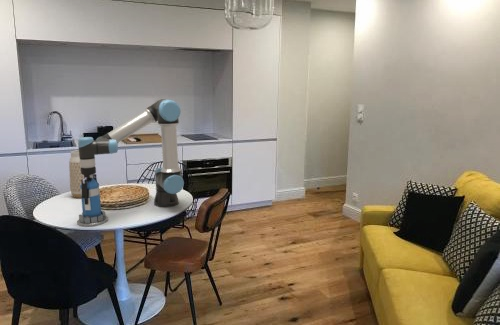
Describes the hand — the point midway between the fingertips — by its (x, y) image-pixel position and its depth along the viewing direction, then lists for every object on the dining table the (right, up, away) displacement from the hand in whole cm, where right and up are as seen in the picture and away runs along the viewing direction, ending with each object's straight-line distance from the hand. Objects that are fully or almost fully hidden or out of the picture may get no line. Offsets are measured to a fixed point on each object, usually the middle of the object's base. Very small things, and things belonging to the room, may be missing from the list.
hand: (91, 207), depth 216 cm
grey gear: (0, -8, +2) cm, 8 cm away
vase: (-27, +1, +52) cm, 59 cm away
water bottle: (0, -7, +1) cm, 7 cm away
